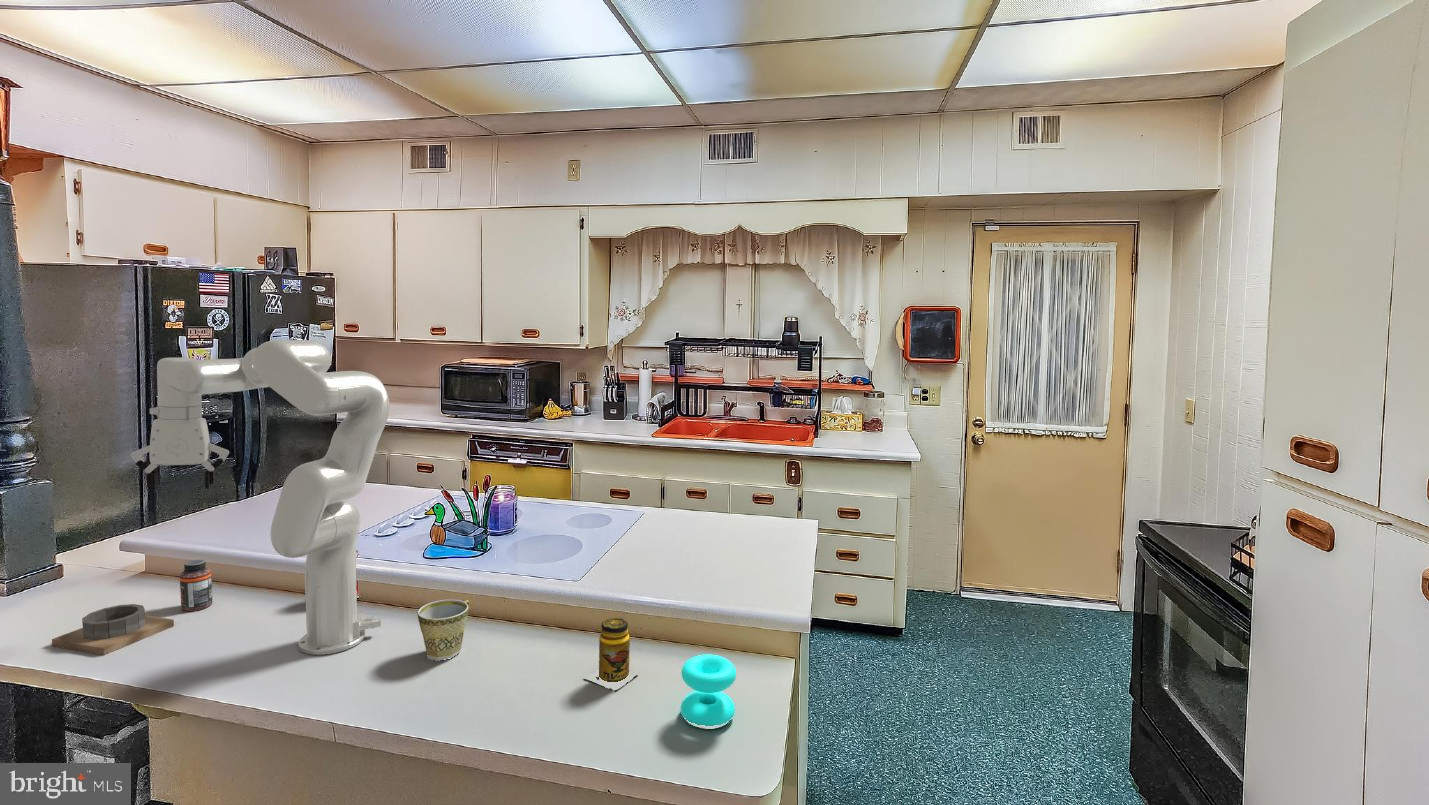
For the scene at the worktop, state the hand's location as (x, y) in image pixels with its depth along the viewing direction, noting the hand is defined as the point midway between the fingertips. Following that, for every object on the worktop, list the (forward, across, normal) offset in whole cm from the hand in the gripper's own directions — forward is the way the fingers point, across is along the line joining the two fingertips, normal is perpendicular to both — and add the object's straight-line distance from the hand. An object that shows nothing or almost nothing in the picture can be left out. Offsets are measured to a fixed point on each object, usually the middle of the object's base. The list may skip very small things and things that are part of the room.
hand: (182, 488), depth 146 cm
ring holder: (+32, -11, -4) cm, 34 cm away
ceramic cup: (+29, +53, -39) cm, 72 cm away
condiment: (+28, +82, -63) cm, 107 cm away
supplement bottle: (+32, +1, +8) cm, 33 cm away
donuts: (+27, +94, -83) cm, 128 cm away
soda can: (+31, +33, 0) cm, 45 cm away
